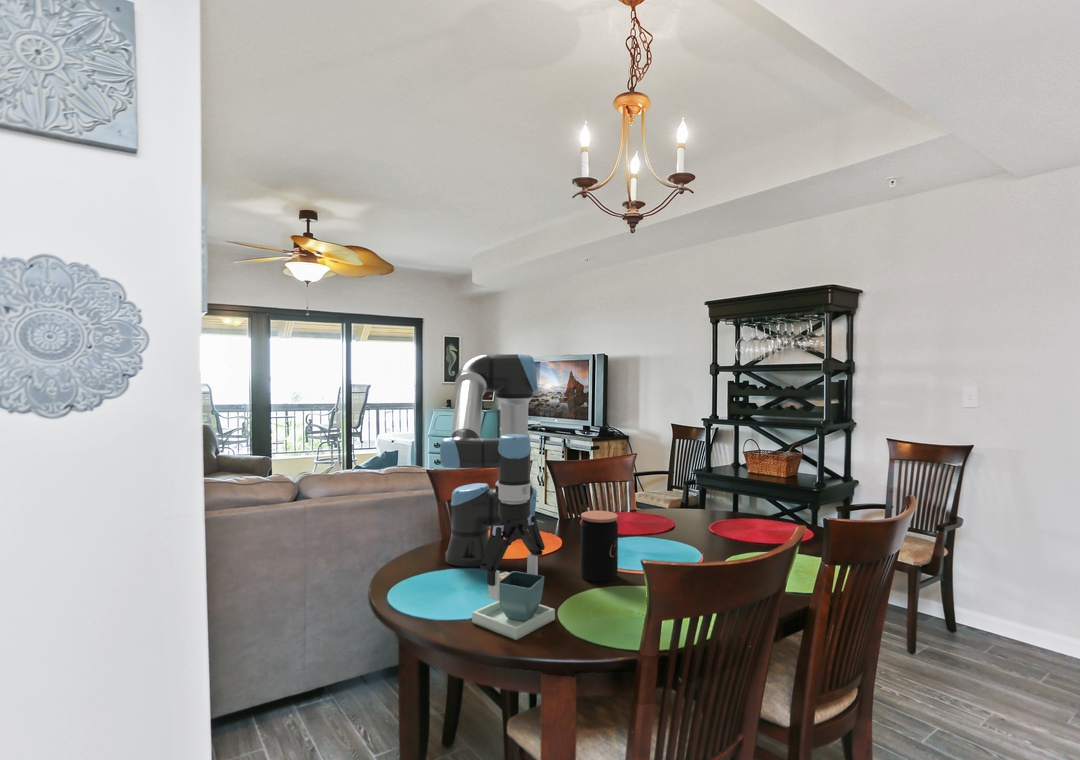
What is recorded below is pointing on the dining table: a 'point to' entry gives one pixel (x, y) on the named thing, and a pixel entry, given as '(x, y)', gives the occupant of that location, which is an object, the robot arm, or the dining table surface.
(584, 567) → the coffee jar
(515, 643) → the dining table surface
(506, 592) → the flower pot
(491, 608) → the shallow square tray
